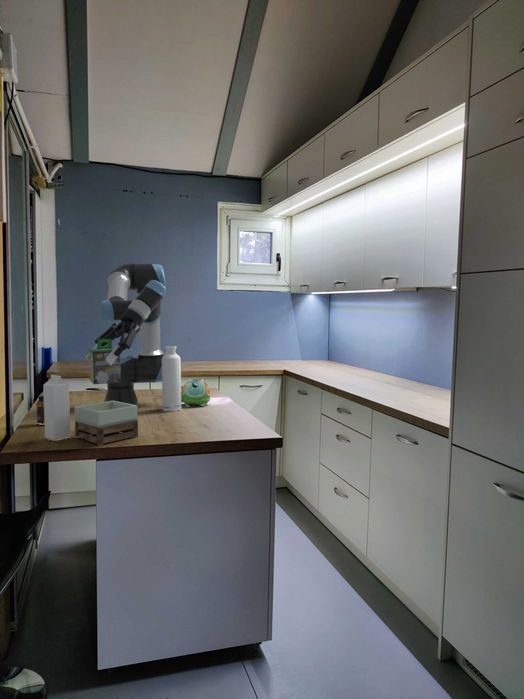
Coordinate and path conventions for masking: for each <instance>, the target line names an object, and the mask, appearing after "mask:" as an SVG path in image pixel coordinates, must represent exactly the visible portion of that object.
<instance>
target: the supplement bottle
mask: <svg viewBox="0 0 524 699" xmlns="http://www.w3.org/2000/svg"><path fill="white" fill-rule="evenodd" d="M35 407H36V408H35V409H36V424H37V423H42V424H43V423H45V421H44V394H40V395H38V400H37V402H36V403H35Z"/></svg>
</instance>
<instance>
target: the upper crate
mask: <svg viewBox="0 0 524 699" xmlns="http://www.w3.org/2000/svg"><path fill="white" fill-rule="evenodd" d="M138 410H139V409H138V406H137V405H132V404H127V403H122V402H117V401H107V402H104V401H103V402H96V403H88V404H82V405H76V406H74V422H75V421H77V422H81V423H84V424H88V425H92V426H95V427H104V426H109V425H114V424H119V423H124V422H129V421H134V420H138V421H139V418H138V417H139V416H138V414H139V413H138Z"/></svg>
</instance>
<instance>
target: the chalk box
mask: <svg viewBox="0 0 524 699" xmlns="http://www.w3.org/2000/svg"><path fill="white" fill-rule="evenodd" d="M112 341H113V340H111V339H99V340H98V343H97V348H94V347H93V348H94V349H93V348H89V349H88V354H89V361H88V362H89V380H90V382H91V383H92V384H94V385H104V384H105V385H107V384H109V383H121V363H120V356H121V354H120V355H119V356H118V358H117V359H116V360H115V361H114V363H113V364H112V365H109V364H108V363H107V362H106V361H105V359H106V358H107V357H108V355H109V354H110V353H111V352H112V350H113V349H114V348H115V347H116V346H115V347H113V346H112V343H113V342H112ZM103 342H106V343H108V344H107V345H105V346H102V345H101V344H102V343H103Z"/></svg>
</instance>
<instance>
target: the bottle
mask: <svg viewBox="0 0 524 699" xmlns="http://www.w3.org/2000/svg"><path fill="white" fill-rule="evenodd" d="M165 349H166V352H165V355H164V356H163V357H162V382H161V384H162V385H161V386H162V411H164V412H168V411H173V412H179V411H178V410H180V411H181V410H182V402H181V392H182V374H181V372H182V370H181V369H182V366H181V360H182V359H181V357H180V355H178V354H177V352H176V350H177V345H176V346H175V345H174V346H171V345H169V346H165Z"/></svg>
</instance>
